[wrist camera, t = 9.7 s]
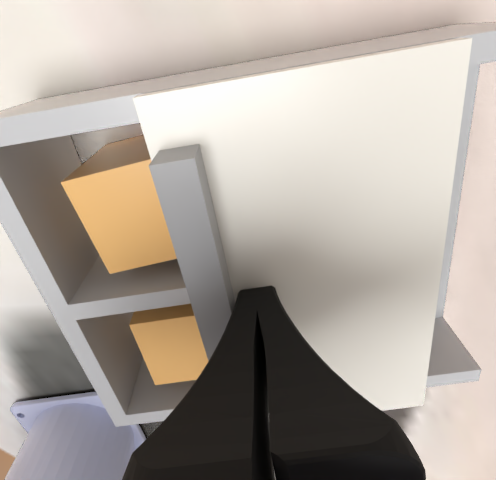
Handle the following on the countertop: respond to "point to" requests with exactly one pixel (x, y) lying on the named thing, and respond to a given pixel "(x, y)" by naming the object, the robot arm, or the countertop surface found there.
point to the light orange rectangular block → (121, 206)
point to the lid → (319, 202)
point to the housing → (168, 272)
